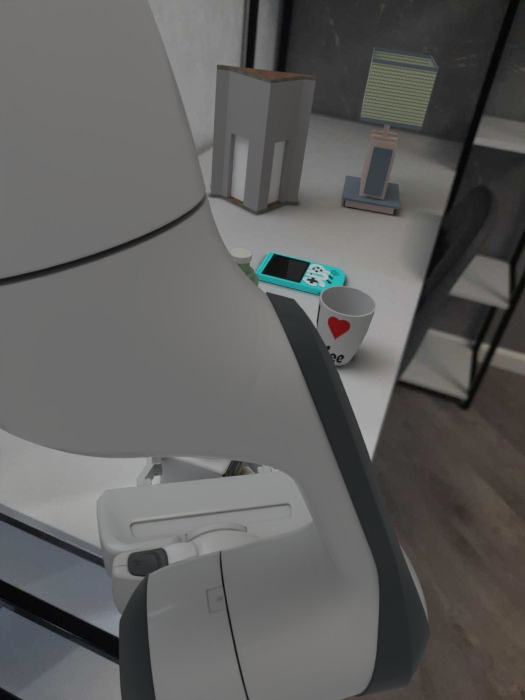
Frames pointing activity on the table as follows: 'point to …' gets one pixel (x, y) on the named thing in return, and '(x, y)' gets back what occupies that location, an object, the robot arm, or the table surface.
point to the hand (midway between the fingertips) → (200, 451)
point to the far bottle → (245, 262)
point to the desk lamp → (389, 122)
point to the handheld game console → (299, 273)
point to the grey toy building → (260, 136)
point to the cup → (344, 320)
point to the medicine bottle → (196, 469)
